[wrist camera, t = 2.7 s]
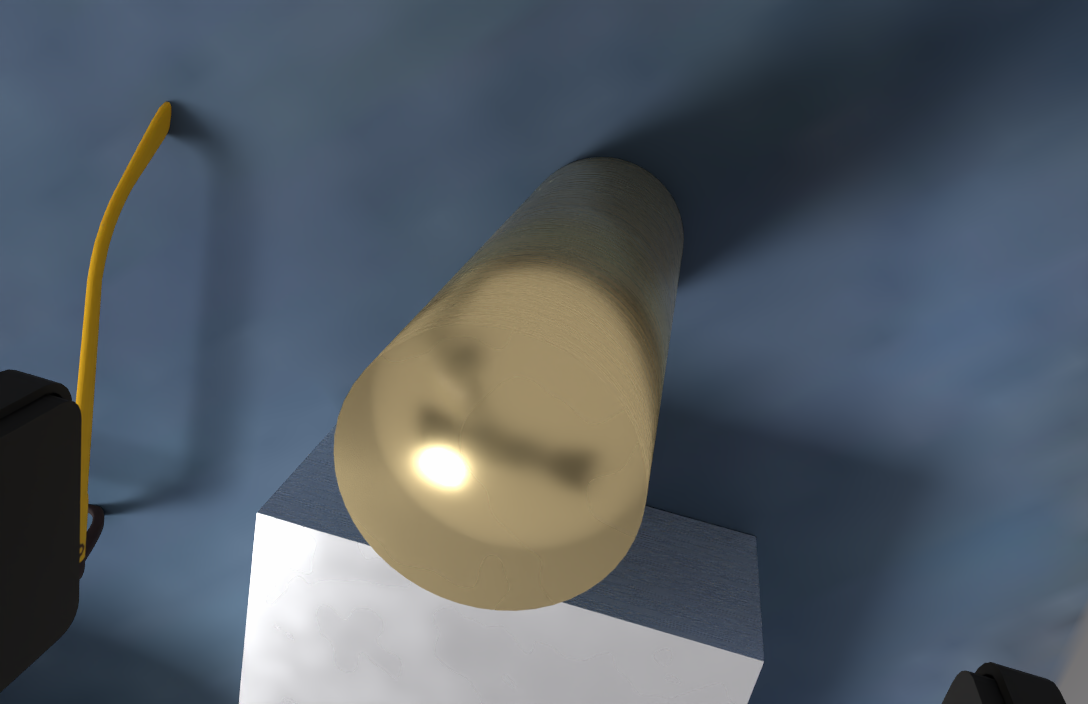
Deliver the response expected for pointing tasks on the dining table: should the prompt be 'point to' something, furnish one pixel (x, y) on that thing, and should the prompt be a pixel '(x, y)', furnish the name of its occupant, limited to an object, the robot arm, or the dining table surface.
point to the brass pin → (523, 399)
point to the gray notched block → (491, 619)
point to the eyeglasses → (91, 318)
